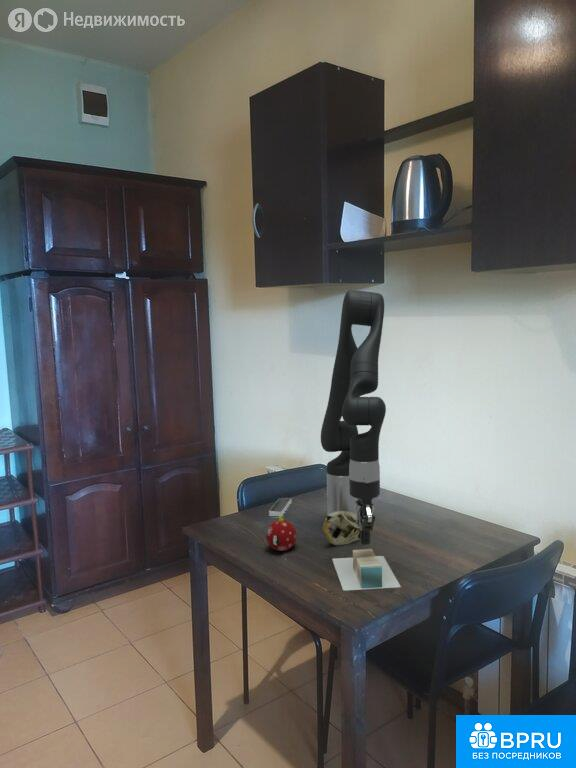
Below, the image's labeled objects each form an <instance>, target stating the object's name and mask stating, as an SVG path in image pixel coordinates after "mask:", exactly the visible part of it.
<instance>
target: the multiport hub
mask: <svg viewBox="0 0 576 768" xmlns="http://www.w3.org/2000/svg"><path fill="white" fill-rule="evenodd" d="M290 504H291V505H292V498H290V497H289V498H288V497H279V498H278V499H277V500H276V502H275V503H274V504H273V505H272V506H271V508H270V509H269V511H268V517H269V516H279V517H280V516H283V517H284V515H285V514H284V513H286V512H287V511H288V509H289V508H290V507H289V505H290ZM291 505H290V506H291ZM288 507H289V508H288ZM287 508H288V509H287ZM286 510H287V511H286ZM285 511H286V512H285ZM283 514H284V515H283ZM279 517H278V518H279Z"/></svg>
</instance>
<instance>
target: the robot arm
mask: <svg viewBox="0 0 576 768" xmlns="http://www.w3.org/2000/svg"><path fill="white" fill-rule="evenodd" d="M384 299H385V298H384V296H383V295H382V294H381V293H379V292H373V291H364V290H355V289H354V290H353V289H350V290H347V291H346V292H345V295H344V297H343V302H342V307H341V314H340V315H341V316H340V326H339V333H338V334H339V336H338V342H337V343H338V344H337V349H336V354H335V359H334V363H333V364H334V365H333V369H332V375H331V382H330V388H329V395H328V401H327V405H326V410H325V414H324V417H323V421H322V426H321V429H320V444H321V447H322V449H323V450H324V451H325V452H327V453H336V452H340V453H339V455H337V456H336V457H335V458H333V459H331V460H330V461H328V462H327V464H326V499H327V500H326V502H327V503H326V504H327V506H326V508H327V515H328V514H330V513H333V512H336V511H347V512H353V513H356V514H357V519H358V520H357V521H358V523H359V528H360V533H359V538H360V540H359V542H360V544H361V545H362V546H364V545H366V546H367V545H370V544H371V531H373V530H374V525H375V521H376V516H375V514H374V511H375V503H373V501H372V500H373V499H374V498H375V499H376V498H378V497H379V496H380V495H381V469H380V467H381V466H380V457H379V452H380V451H379V448H380V446H379V445H380V444H379V443H380V435H381V430H382V426H383V423H384V420H385V417H386V412H387V408H386V407H387V406H386V403H385V401H384V400H383V399H382V398H381V397H380V396H364V395H369V394H371V393H374V392H375V391H376V390H377V389H378V387H379V356H380V348H381V342H382V341H381V340H382V336H383V335H382V334H383V325H384V316H385V300H384ZM353 325H356V326H363V327H364V326H365V327H370V328H369V332H368V335H367V336H366V337H365V339H363V341H362V343H361V344H360V345H359V346H357V344H356V342H355V341H356V340H355V338H354V335H353V331H352V327H353ZM341 419H343V420H341ZM358 426H370V428H369V430H367V431H366V432H362V433H359V430H358ZM327 515H326V516H327ZM334 528H335V525H334V524H331V525H330V526H329V528H328V529H331V530H334Z"/></svg>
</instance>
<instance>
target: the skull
mask: <svg viewBox="0 0 576 768" xmlns="http://www.w3.org/2000/svg"><path fill="white" fill-rule="evenodd" d="M357 520H358V519H357V514H356V513H353V512H347V511H336V512H333V513H330V514H328V515H326V517H325V519H324V522H323V525H322V531H323V532H324V533H325V536H326V538H327V540H328V542H329V543H330V544H331V545H333V546H344V545H349V544H351V543H353V542H358V541H360V537H359V536H360V528H359V523H358V521H357ZM331 524H334V525H335V528H334V529H332V532H331V531H330V528H329V526H330V525H331Z"/></svg>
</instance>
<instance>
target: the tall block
mask: <svg viewBox="0 0 576 768" xmlns="http://www.w3.org/2000/svg"><path fill="white" fill-rule="evenodd" d="M376 556H377V555H376V554H375V552H374V550H373V548H364V549H363V548H361V549H360V548H359V549H352V558H353V569H354V572H355V574H356V576H357V579H358V581H359V584H360V586H361V588H377V587H382V566H381V565H380V563H379V561H378V559H377V557H376Z"/></svg>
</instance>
